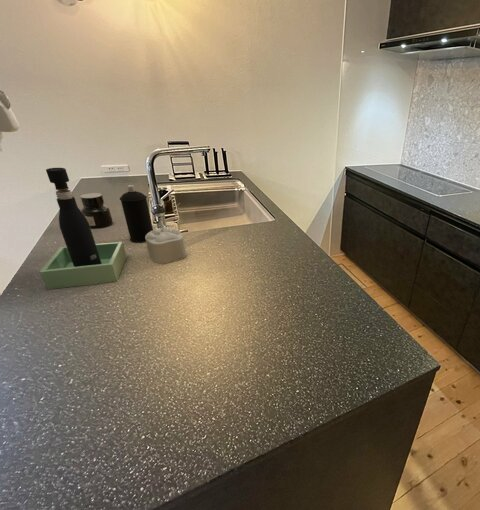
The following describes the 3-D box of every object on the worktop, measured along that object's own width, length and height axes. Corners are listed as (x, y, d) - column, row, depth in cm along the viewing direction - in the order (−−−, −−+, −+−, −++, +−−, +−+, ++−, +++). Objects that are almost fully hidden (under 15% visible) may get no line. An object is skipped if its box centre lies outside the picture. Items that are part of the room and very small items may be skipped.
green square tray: (47, 289, 83) (39, 272, 80) (66, 262, 96) (60, 246, 93) (117, 281, 89) (112, 264, 87) (126, 256, 102) (122, 241, 100)
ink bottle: (84, 222, 124) (75, 193, 118) (110, 218, 129) (102, 191, 124) (87, 230, 117) (78, 200, 112) (115, 226, 123) (107, 197, 118)
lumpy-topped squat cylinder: (156, 265, 98) (150, 241, 95) (144, 251, 107) (139, 227, 103) (189, 257, 105) (185, 233, 101) (176, 243, 113) (172, 222, 109)
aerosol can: (153, 241, 113) (142, 188, 104) (127, 243, 110) (113, 189, 101) (156, 233, 120) (146, 182, 111) (132, 234, 117) (119, 183, 108)
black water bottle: (80, 265, 94) (45, 166, 80) (105, 263, 96) (75, 166, 83) (72, 276, 89) (34, 171, 75) (99, 273, 91) (66, 171, 77)
